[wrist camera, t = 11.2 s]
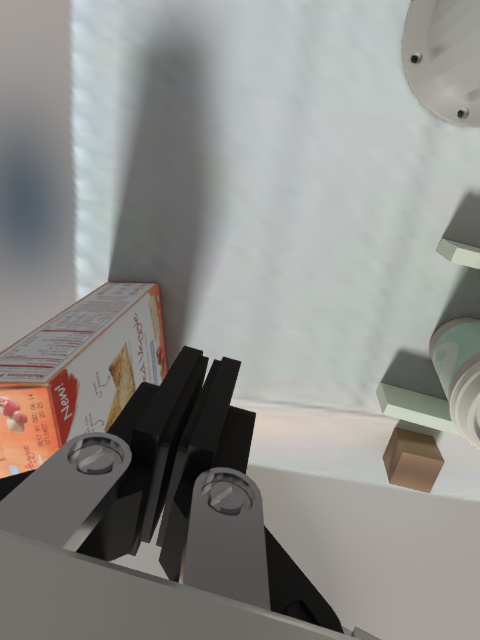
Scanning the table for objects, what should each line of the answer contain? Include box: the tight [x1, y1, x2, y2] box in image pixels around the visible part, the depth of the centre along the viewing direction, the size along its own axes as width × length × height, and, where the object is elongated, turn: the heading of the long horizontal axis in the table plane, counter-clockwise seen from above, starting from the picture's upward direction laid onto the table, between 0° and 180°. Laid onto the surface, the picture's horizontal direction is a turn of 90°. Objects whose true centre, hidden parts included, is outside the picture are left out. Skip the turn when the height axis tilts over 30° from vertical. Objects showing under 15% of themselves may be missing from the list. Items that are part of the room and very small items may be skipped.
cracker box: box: [0, 282, 167, 478], centre depth 35 cm, size 14×6×21 cm, turn 1°
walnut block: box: [383, 428, 444, 493], centre depth 44 cm, size 4×4×4 cm
